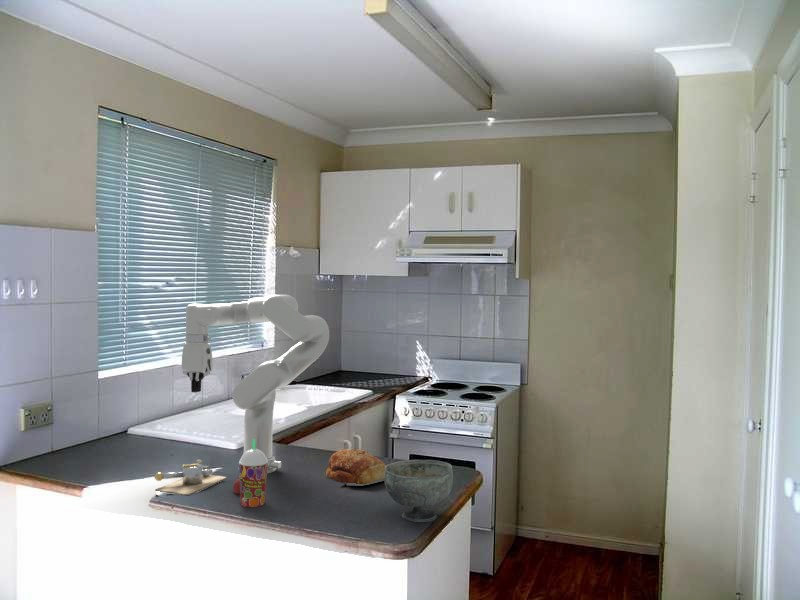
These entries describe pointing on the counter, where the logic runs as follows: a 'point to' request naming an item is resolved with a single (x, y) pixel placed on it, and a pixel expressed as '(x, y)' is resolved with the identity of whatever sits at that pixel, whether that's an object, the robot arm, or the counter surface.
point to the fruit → (236, 486)
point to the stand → (185, 489)
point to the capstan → (187, 474)
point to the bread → (355, 467)
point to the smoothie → (253, 477)
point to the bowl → (419, 486)
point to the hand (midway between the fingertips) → (196, 391)
